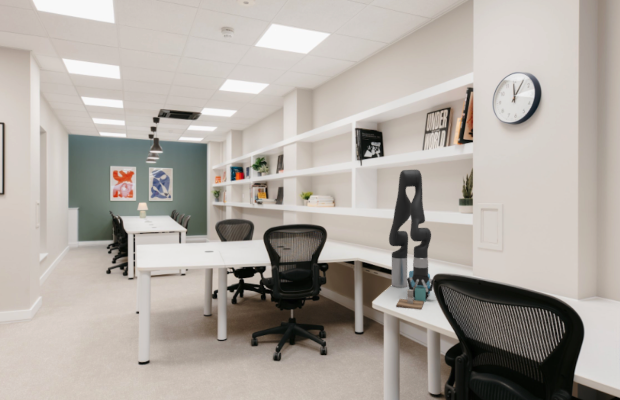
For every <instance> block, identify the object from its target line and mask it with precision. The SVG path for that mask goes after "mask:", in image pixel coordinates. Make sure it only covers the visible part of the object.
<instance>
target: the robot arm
mask: <svg viewBox="0 0 620 400" xmlns="http://www.w3.org/2000/svg"><path fill="white" fill-rule="evenodd" d="M422 178H423V177H422V173H421V171H420V170H419V169H404V170H401V171H400V174H399V178H398V188H397V197H396V201H395V202H396V203H395V207H394V213H393V218H392V219H393V220H392V224H391V227H390V232H389V235H388V236H389V237H388V241H389V242H388V243H389V245H390V246H391V247H399V248H398V249H397V250H395V251H392V252H391V286H392V287H395V288H406V287H408V289H411V290H413V299H415V288H416V287H417V285H422V286H424V288H426V300H427V299H428V298H429V296H430V294H429V291H430V292H432V291H433V287H434V284H433V279H434V278H430V279H429V277H428V273H429V257H428V256H429V255H428V250H429V248H430V247H429V246H430V243H431V239H432V231H431V229H429V228H428V227H419V226H420V225H421V224H424V223H425V222H426V217H425V212H424V211H425V210H424V204H423V179H422ZM408 187H414V191H415V193H414V196H413V198H412V201H410V198H409V196H408V195H407V188H408ZM409 219H410V221H411V223H410V231H409V234H408V232H407V231H406V230H400V228H401V227H402V226H403V225H404V224H405V223H406V222H407V221H408V220H409ZM409 236H410V238H411V240H412V241H414V242H420V244H418V245H415V246H414V247H413V259H412V260H413V262H412V266H413V267H412V268H413V269H412V271H413V277H411V278H409V276H408V254H409V253H408V252H409V251H408V247H409ZM412 279H413V281H414V282H415V285H414V287H412V285H411V281H412ZM428 281H430V288H429V289H428V287H427V284H426V283H427V282H428Z"/></svg>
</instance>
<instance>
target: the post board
mask: <svg viewBox="0 0 620 400" xmlns="http://www.w3.org/2000/svg"><path fill="white" fill-rule="evenodd" d="M406 291H407V293H406V294H407V297H406V298H399V300H398V301H397V303H396V305H395V307H396V308H403V309H411V310H412V309H414V310H423V306H424V305H425V304H424V301H419V300H415V299H414V297H413V290H410V289H409V288H407V290H406Z"/></svg>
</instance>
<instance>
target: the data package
mask: <svg viewBox="0 0 620 400" xmlns="http://www.w3.org/2000/svg"><path fill="white" fill-rule="evenodd" d="M408 277H409V278H411V277H413V270H410V271H409V272H408ZM428 277H429V279H431V274H430V273H429V272H428ZM426 284H427V287H428V289H429V288H430V286H431V283H430V281H428V282H427V283H426ZM411 285H412V287H414V285H415V282H414V281H413V279H412V281H411ZM417 286H422V285H417ZM423 287H424V286H423ZM410 290H411V289H410ZM430 294H431V291H429V295H430Z"/></svg>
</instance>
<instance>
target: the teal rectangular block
mask: <svg viewBox="0 0 620 400" xmlns="http://www.w3.org/2000/svg"><path fill="white" fill-rule="evenodd" d="M414 300H419V301H424V302H426V301H427V299H426V288H424V287H423V286H417V287H416V288H415V298H414Z"/></svg>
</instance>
